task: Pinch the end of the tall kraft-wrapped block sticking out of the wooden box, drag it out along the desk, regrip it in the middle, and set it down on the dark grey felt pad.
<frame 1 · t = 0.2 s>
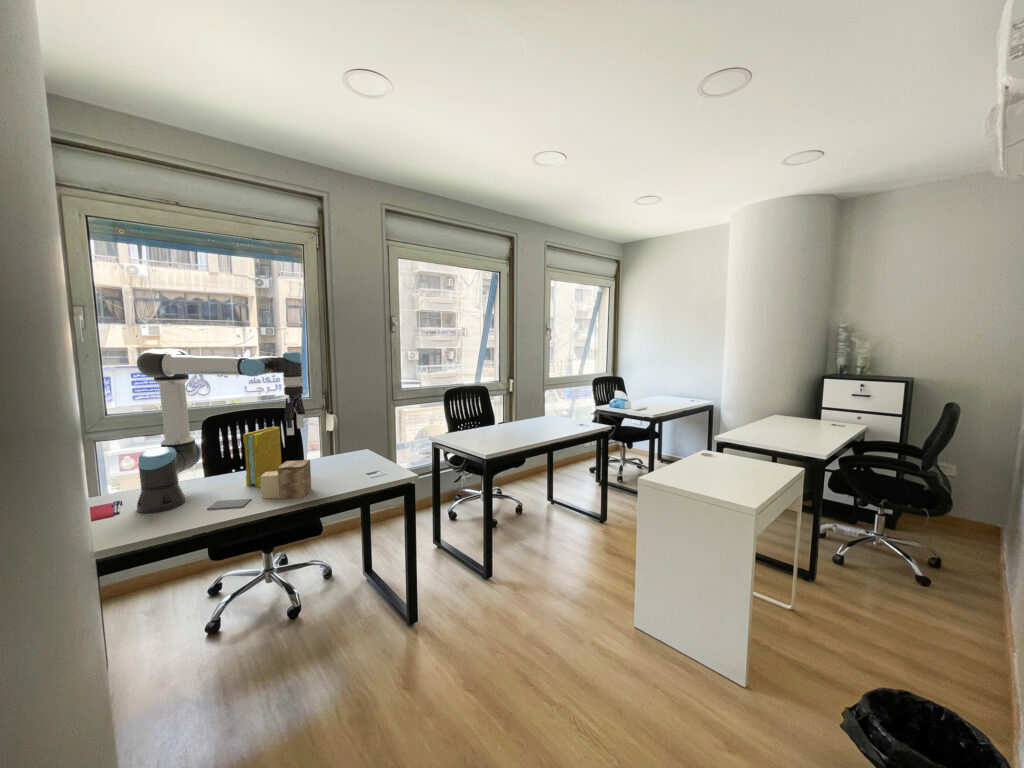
hand: (295, 431, 185), 27 cm above the table, fingers open, 13 cm apart
wooden box: (295, 493, 181), on the table
blank: (279, 494, 180), on the table
pad: (229, 504, 168), on the table
book: (266, 480, 198), on the table
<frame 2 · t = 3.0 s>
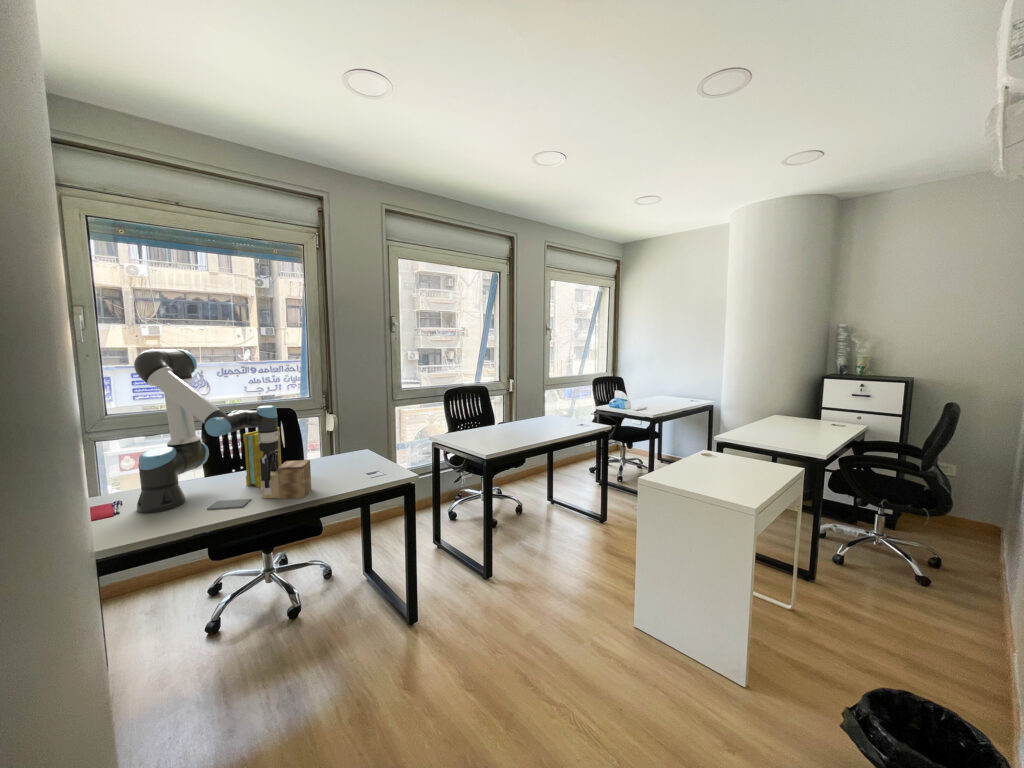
hand: (271, 491, 179), 2 cm above the table, fingers closed on blank, 6 cm apart
blank: (279, 494, 180), on the table, touching gripper
everything else where it was.
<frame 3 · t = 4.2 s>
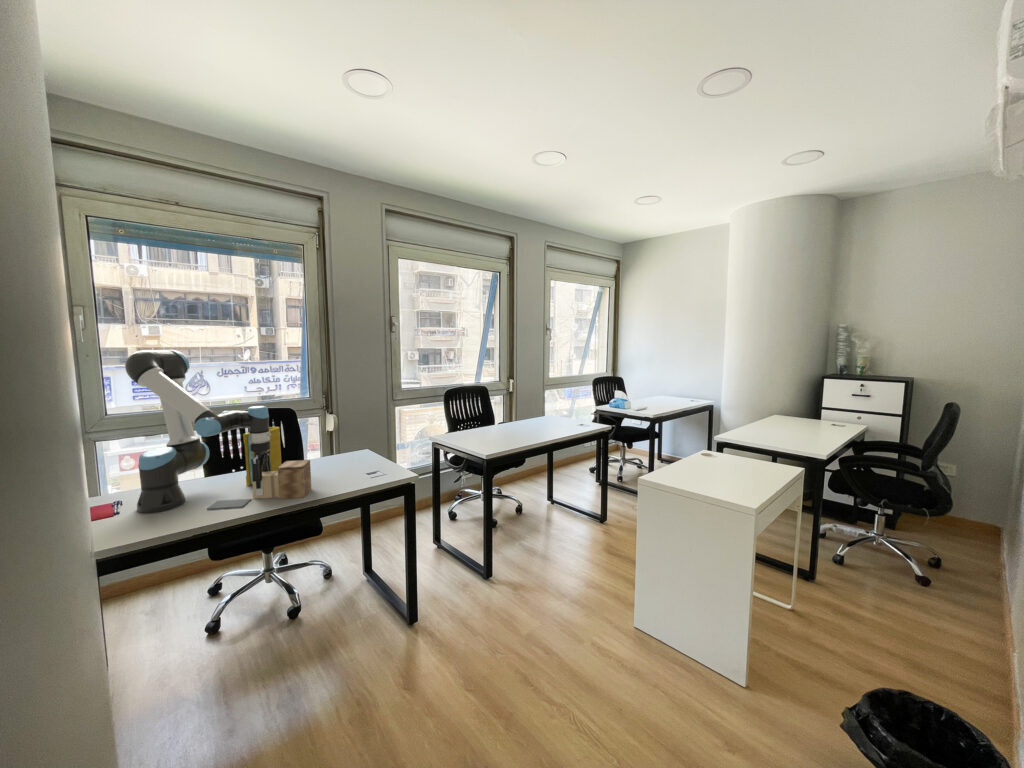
hand: (263, 492, 178), 2 cm above the table, fingers closed on blank, 6 cm apart
blank: (271, 495, 179), on the table, touching gripper
everything else where it was.
when the fingers open (2 cm above the table, at t = 5.7 s): blank stays where it is, on the table.
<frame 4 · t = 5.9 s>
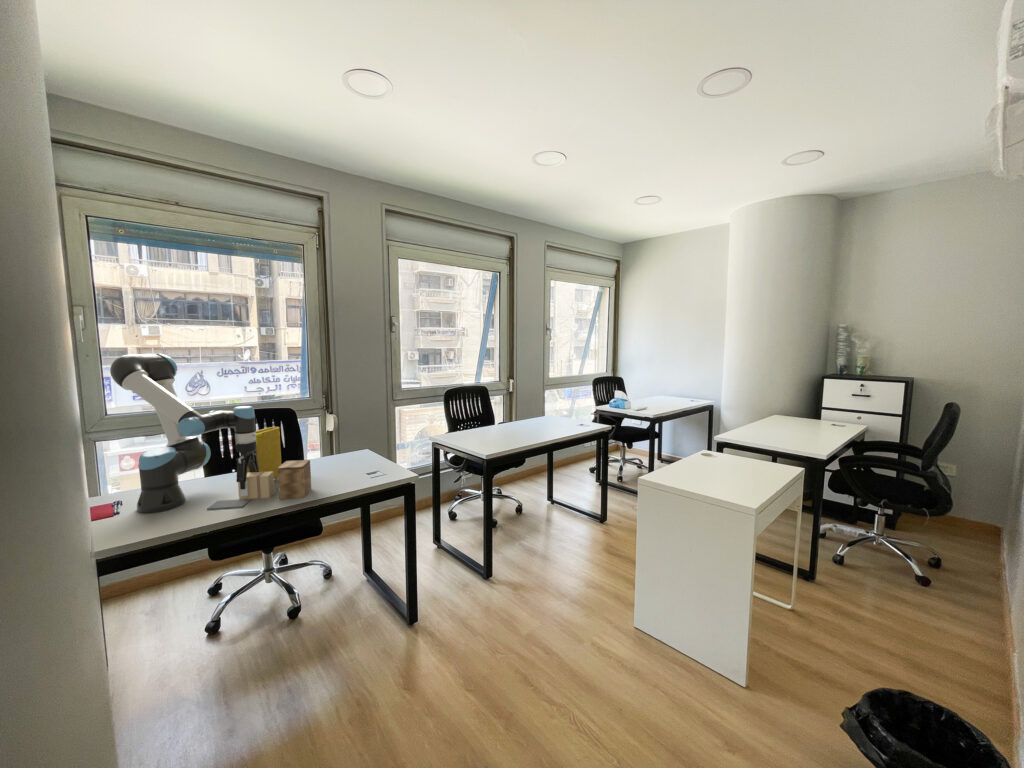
hand: (249, 491, 177), 2 cm above the table, fingers open, 8 cm apart
blank: (257, 496, 178), on the table
everything else where it was.
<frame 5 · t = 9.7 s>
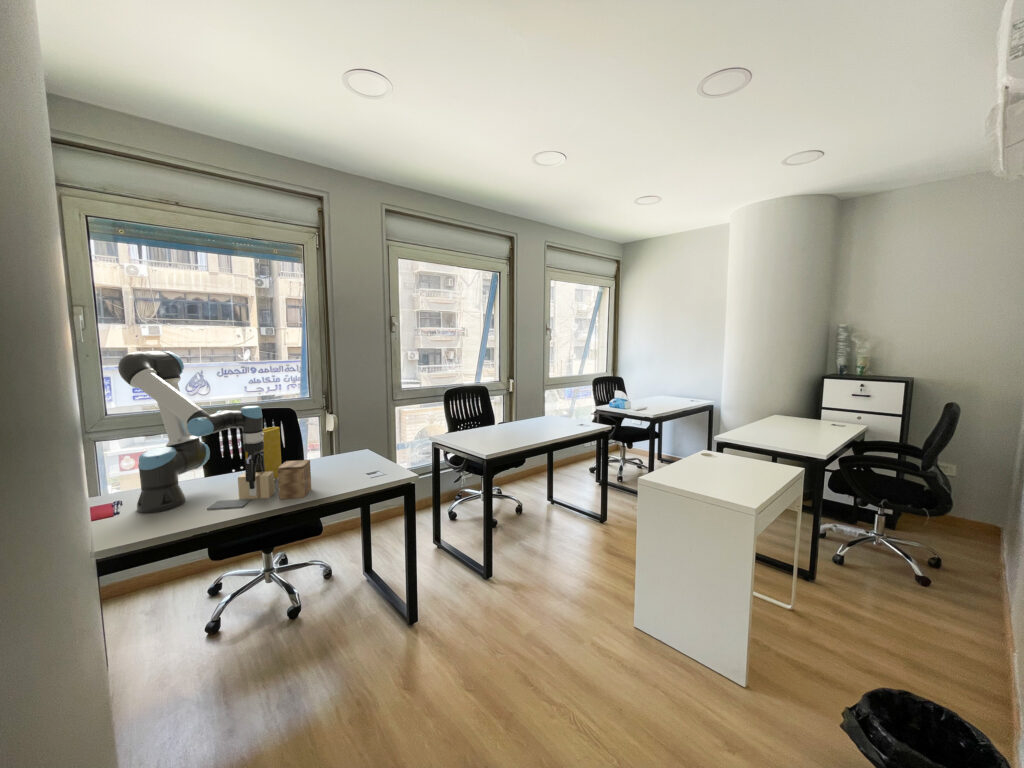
hand: (256, 492, 178), 2 cm above the table, fingers closed on blank, 6 cm apart
blank: (257, 495, 178), on the table, touching gripper
everything else where it was.
when the fingers open (3 cm above the table, at t = 14.2 s): blank drops 1 cm, resting on pad.
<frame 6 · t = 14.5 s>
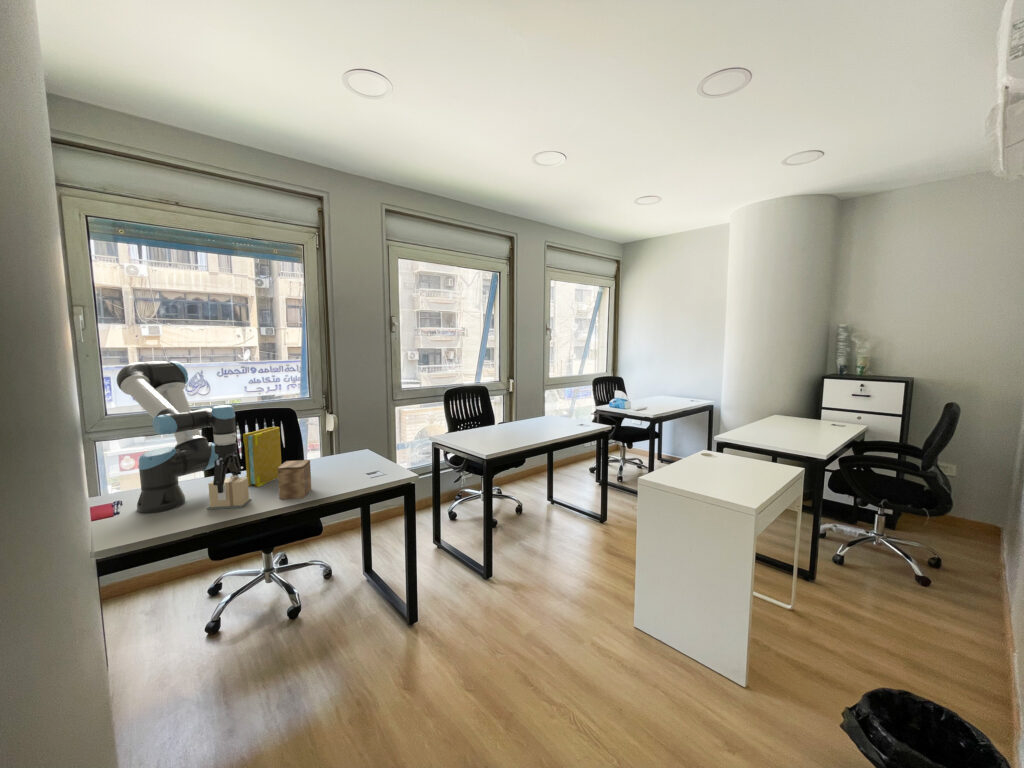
hand: (229, 494, 168), 4 cm above the table, fingers open, 10 cm apart
blank: (230, 503, 168), point 1 cm above the table, touching pad
everything else where it was.
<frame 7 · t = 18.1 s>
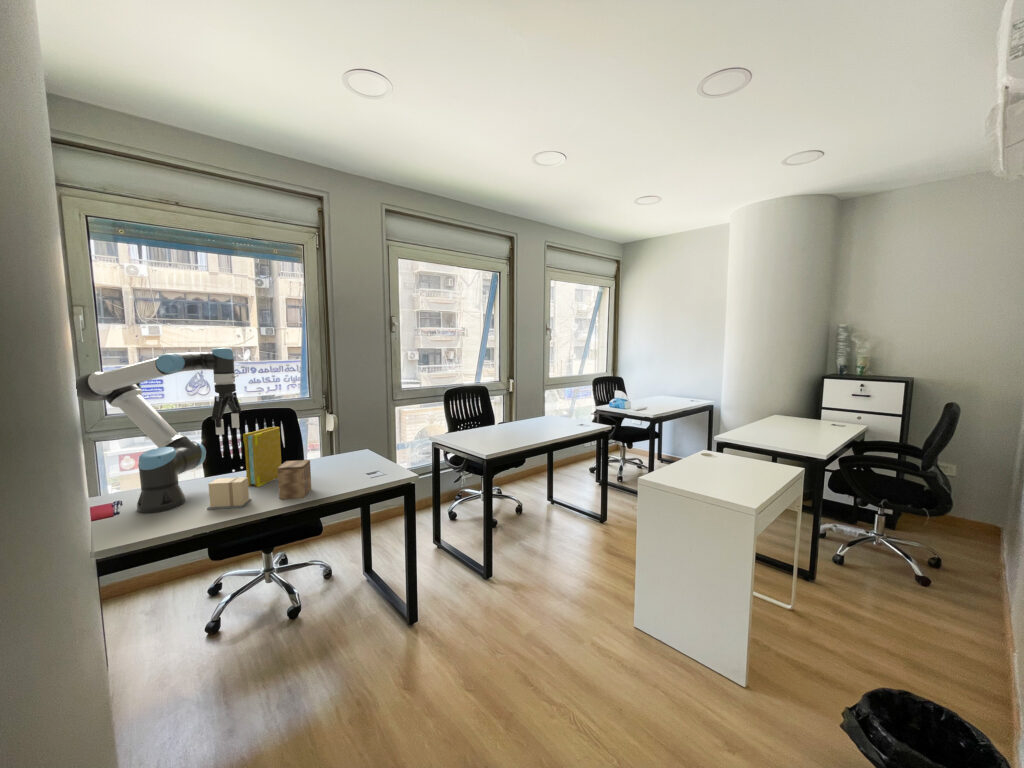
hand: (228, 430, 178), 29 cm above the table, fingers open, 13 cm apart
nothing on the table moved.
at the end: blank inside the target area on the pad (0.2 cm from its centre), point 0.6 cm above the pad's base; the gripper is holding nothing; blank touching pad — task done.
